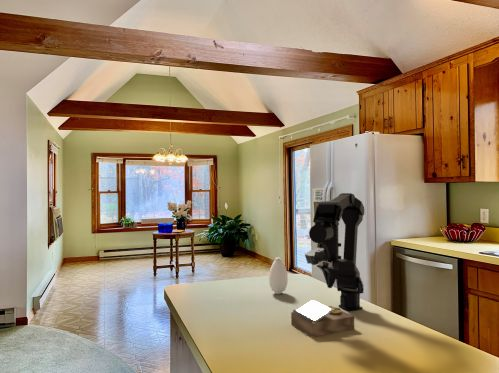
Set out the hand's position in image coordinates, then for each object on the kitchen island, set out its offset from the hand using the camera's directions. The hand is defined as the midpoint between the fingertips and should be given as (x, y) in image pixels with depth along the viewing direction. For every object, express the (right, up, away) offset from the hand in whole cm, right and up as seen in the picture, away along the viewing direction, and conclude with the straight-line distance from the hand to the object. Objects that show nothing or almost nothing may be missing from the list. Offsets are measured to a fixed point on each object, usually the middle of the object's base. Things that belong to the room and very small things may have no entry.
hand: (329, 287), depth 123 cm
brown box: (-3, -12, -1) cm, 13 cm away
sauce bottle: (-14, -13, +39) cm, 43 cm away
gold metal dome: (+1, -12, +1) cm, 12 cm away
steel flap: (-6, -7, -2) cm, 9 cm away
